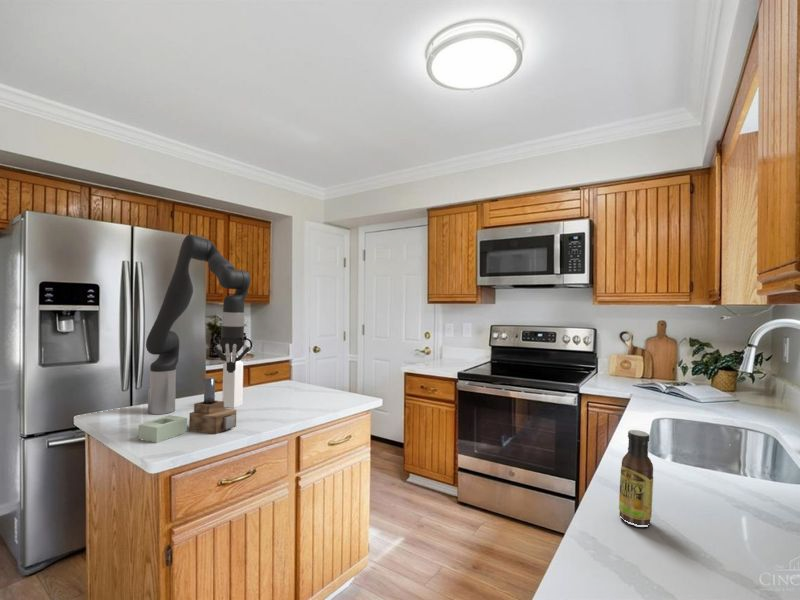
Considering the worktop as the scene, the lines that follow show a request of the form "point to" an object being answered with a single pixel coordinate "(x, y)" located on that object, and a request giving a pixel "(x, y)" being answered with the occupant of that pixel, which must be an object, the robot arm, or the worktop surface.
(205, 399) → the grey peg
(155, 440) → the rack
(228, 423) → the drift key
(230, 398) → the milk
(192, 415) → the socket block
